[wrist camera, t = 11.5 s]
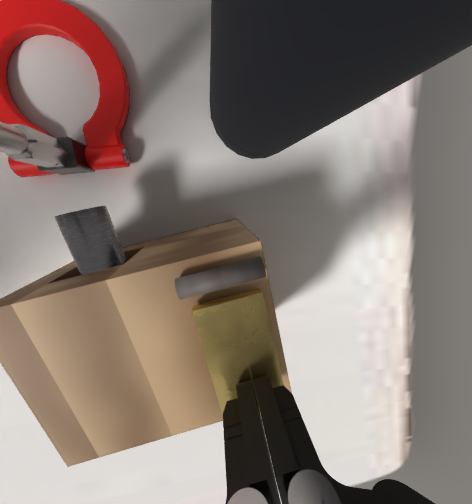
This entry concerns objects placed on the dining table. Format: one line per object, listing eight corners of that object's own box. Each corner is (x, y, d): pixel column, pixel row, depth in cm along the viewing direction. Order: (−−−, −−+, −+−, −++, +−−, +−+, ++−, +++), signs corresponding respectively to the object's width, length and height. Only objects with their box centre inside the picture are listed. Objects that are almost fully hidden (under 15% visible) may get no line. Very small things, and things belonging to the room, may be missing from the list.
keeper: (224, 410, 11) (224, 421, 10) (192, 305, 10) (191, 311, 9) (283, 392, 11) (287, 402, 10) (259, 287, 10) (262, 292, 9)
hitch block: (124, 356, 19) (56, 489, 11) (79, 257, 17) (-56, 328, 8) (260, 318, 20) (299, 415, 11) (237, 218, 17) (265, 245, 9)
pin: (192, 361, 18) (188, 416, 14) (136, 377, 18) (112, 438, 13) (136, 199, 14) (105, 203, 10) (64, 216, 14) (-1, 228, 10)
